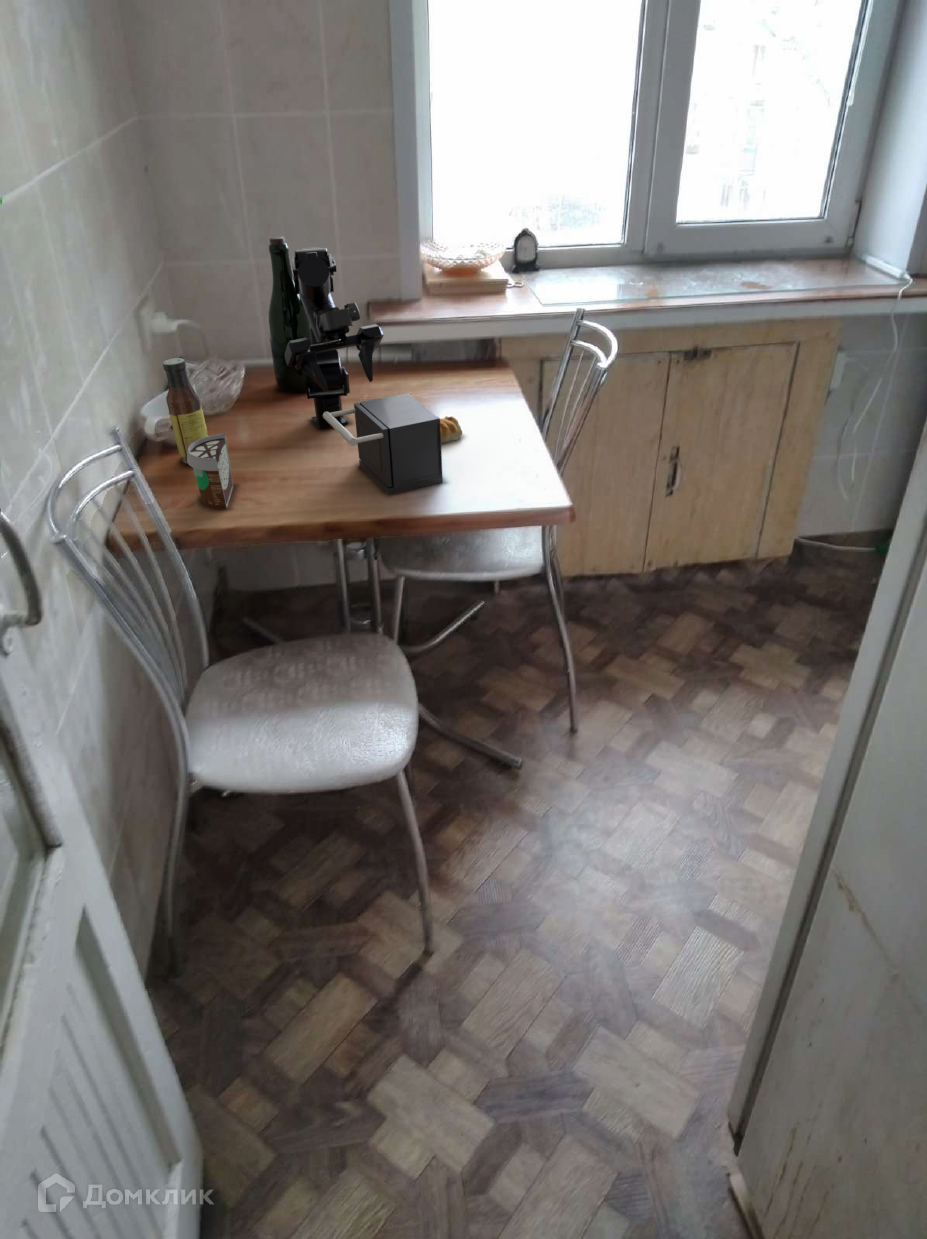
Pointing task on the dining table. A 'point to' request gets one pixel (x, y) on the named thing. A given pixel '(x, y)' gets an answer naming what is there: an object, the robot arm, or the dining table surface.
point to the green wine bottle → (285, 317)
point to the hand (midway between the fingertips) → (349, 386)
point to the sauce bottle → (183, 407)
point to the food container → (212, 470)
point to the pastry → (449, 429)
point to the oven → (408, 442)
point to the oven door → (366, 440)
